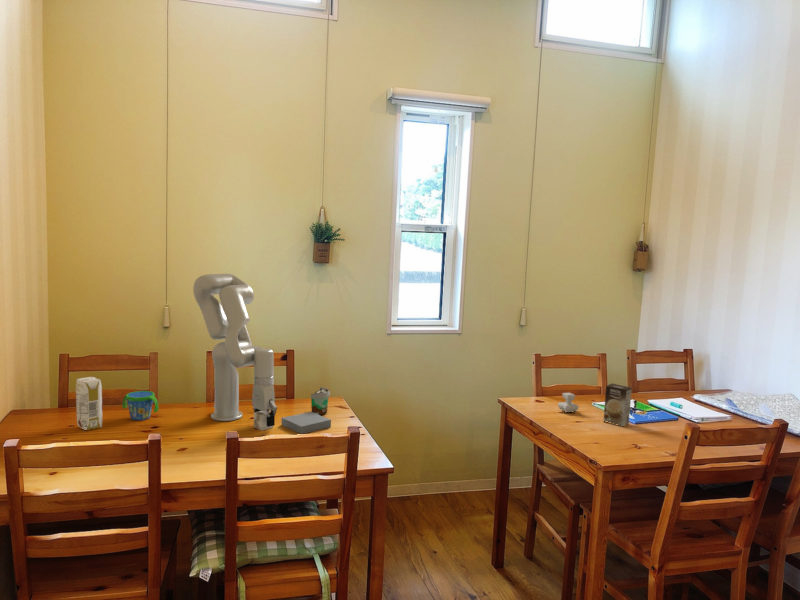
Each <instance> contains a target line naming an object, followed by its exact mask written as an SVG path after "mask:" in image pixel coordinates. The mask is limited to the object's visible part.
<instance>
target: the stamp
mask: <svg viewBox="0 0 800 600" xmlns="http://www.w3.org/2000/svg"><path fill="white" fill-rule="evenodd" d="M561 393H562V394H561V395H562V398H563V399H564V400H565V401H562V402H558V403H557V406H558V409H559V410H561V409H562V410H564V411H566V412H572V411H573V412H574V411H578V410H579V408H580V407H579V405H578V404H575V403H573V402H572V401H573V400H575V398H576V395H575V394H574V393H572V392H561ZM562 410H561V411H562ZM564 411H563V412H564ZM566 412H565V413H566ZM574 413H575V412H574Z"/></svg>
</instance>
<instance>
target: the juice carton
mask: <svg viewBox="0 0 800 600" xmlns="http://www.w3.org/2000/svg"><path fill="white" fill-rule="evenodd" d="M102 385H103V384H102V381H101V379H99V378H97V377H95V376H88V377H87V376H86V377H81V378H76V384H75V405H76V410H75V411H76V423H77V427H78V426H79V427H81V428H82V429H84V430H88V431H90V430H89V429H93V430H96V429H95V428H98V429H100V428H99V427H101V428H102V427H103V388H102ZM79 427H78V428H79ZM81 428H80V429H81ZM82 429H81V430H82ZM84 430H83V431H84Z"/></svg>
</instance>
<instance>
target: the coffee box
mask: <svg viewBox="0 0 800 600" xmlns="http://www.w3.org/2000/svg"><path fill="white" fill-rule="evenodd" d="M631 399H632V387H629V386H626V385H621V384H616V383H609V384H607V385H605V397H604V409H603V420H604V421H608V422H611V423H614V424H618V425H621V426H620V427H622V426H624V425H626V424H628V425H629V424H630V415H631V403H632V402H631ZM614 424H613V425H614ZM618 425H617V426H618ZM626 426H627V425H626ZM624 427H625V426H624Z"/></svg>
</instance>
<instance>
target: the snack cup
mask: <svg viewBox="0 0 800 600" xmlns="http://www.w3.org/2000/svg"><path fill="white" fill-rule="evenodd" d="M153 404H154V409H153ZM121 407H122V409H124V410H125V409H127V408H128V413H129V419H130V420H131V419H132V420H131V421H139V420H140V421H146V420H148V419H150V417H151V415H152V410H153V413H158V411H159V409H160V405H159V402H158V399H157V397H156V396H155V392H153V391H149V390H137V391H132V392H128V393H127V394H125V395H124V396H123V399H122V403H121ZM145 419H146V420H145Z"/></svg>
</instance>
